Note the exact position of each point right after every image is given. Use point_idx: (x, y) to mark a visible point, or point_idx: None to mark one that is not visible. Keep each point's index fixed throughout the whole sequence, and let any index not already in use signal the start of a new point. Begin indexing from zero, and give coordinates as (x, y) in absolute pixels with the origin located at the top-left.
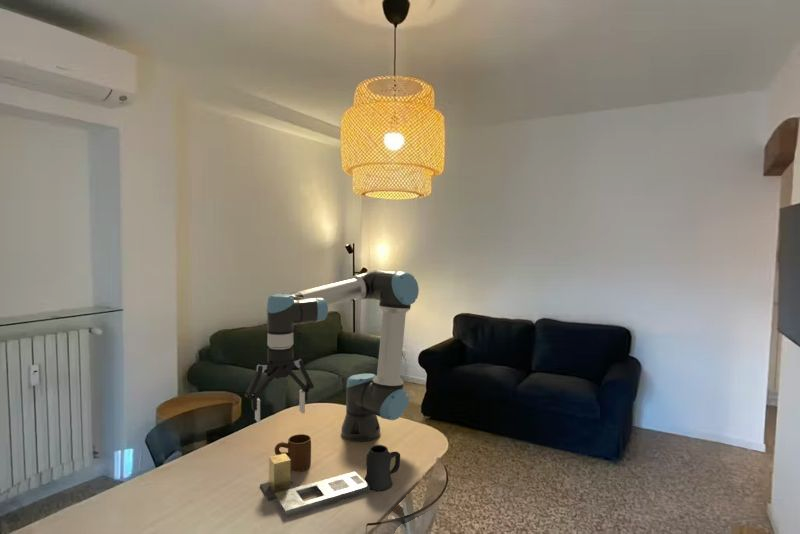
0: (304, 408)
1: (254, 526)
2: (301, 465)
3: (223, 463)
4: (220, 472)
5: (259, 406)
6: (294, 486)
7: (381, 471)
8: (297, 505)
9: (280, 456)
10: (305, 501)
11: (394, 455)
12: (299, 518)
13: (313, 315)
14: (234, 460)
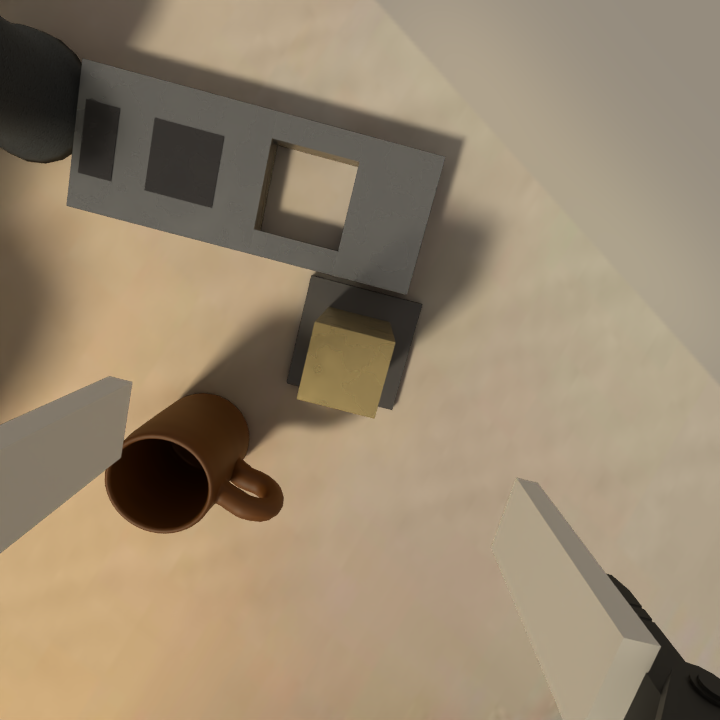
0: (84, 389)
1: (543, 198)
2: (215, 401)
3: (403, 624)
4: (441, 578)
5: (586, 570)
6: (308, 310)
7: None
8: (392, 155)
9: (331, 386)
10: (353, 157)
11: None
12: (407, 122)
13: None
14: (364, 618)
